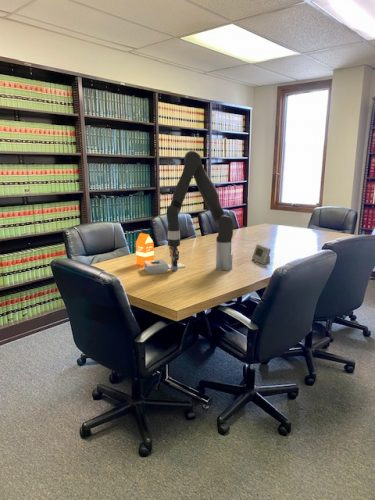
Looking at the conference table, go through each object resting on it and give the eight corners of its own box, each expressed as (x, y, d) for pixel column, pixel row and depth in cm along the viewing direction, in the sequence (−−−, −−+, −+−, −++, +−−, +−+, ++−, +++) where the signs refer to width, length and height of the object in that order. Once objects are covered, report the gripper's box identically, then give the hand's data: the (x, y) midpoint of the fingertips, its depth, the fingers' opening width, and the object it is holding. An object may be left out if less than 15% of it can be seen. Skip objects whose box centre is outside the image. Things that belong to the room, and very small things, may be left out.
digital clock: (251, 259, 251) (251, 243, 249) (264, 258, 252) (264, 243, 250) (258, 265, 236) (259, 249, 233) (272, 264, 237) (272, 248, 234)
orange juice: (145, 266, 236) (144, 235, 231) (136, 263, 241) (135, 233, 237) (154, 263, 241) (153, 233, 237) (145, 261, 247) (144, 232, 242)
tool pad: (181, 264, 239) (181, 263, 239) (185, 267, 232) (184, 266, 232) (166, 265, 236) (166, 264, 236) (169, 268, 229) (169, 267, 229)
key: (176, 269, 228) (176, 251, 226) (178, 270, 224) (178, 253, 222) (170, 269, 227) (169, 252, 225) (171, 271, 223) (171, 253, 221)
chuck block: (163, 267, 233) (162, 259, 232) (167, 272, 222) (167, 264, 220) (144, 268, 229) (144, 261, 228) (148, 274, 218) (147, 266, 217)
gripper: (183, 239, 216) (183, 267, 219) (176, 235, 229) (177, 261, 233) (170, 240, 213) (171, 268, 217) (164, 236, 227) (165, 262, 231)
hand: (174, 265), depth 225 cm, fingers open, 5 cm apart
